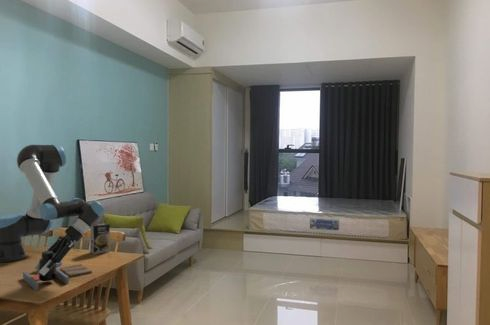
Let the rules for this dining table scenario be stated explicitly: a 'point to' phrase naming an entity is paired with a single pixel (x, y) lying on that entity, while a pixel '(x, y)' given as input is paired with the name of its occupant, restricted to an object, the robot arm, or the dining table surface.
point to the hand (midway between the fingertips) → (38, 271)
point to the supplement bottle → (42, 262)
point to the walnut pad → (75, 270)
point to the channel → (35, 284)
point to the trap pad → (36, 277)
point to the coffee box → (100, 238)
